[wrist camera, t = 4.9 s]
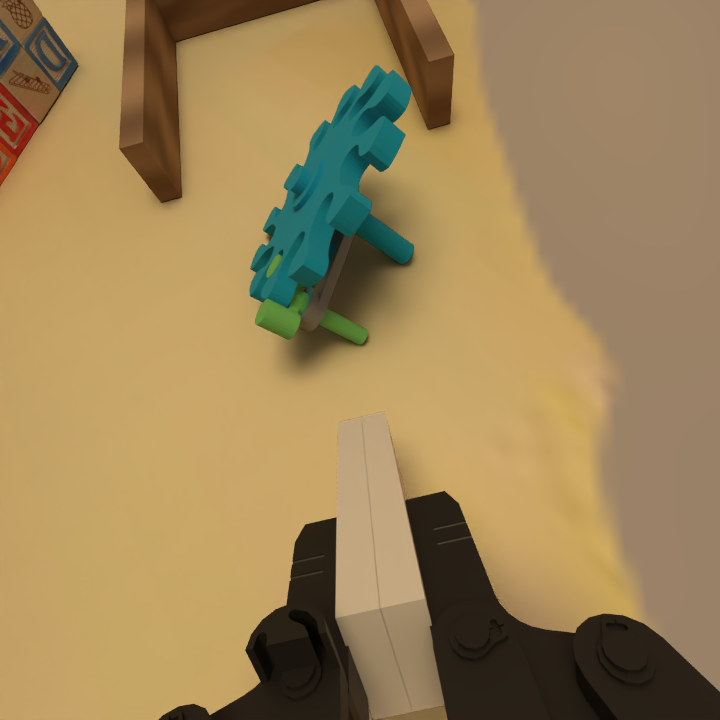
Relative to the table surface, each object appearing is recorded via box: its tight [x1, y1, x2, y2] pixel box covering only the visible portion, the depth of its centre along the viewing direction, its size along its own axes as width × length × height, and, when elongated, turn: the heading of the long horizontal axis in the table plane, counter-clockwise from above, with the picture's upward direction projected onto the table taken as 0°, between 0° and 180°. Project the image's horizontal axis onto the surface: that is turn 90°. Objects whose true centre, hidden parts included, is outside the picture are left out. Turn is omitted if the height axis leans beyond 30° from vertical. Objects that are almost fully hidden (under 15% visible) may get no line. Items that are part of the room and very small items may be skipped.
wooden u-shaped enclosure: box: [119, 0, 454, 202], centre depth 23 cm, size 16×16×6 cm
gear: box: [250, 65, 414, 345], centre depth 18 cm, size 11×6×10 cm
